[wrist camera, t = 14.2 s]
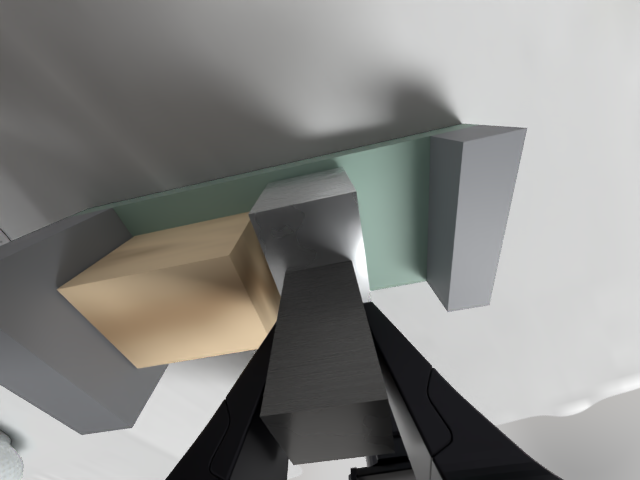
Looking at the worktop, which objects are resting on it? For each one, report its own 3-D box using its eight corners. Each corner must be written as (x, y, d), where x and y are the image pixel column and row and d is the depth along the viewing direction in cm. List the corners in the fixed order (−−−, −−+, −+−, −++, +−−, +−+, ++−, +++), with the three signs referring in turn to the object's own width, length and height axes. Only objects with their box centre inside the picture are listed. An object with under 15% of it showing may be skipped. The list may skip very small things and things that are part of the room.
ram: (361, 290, 17) (416, 484, 8) (306, 299, 17) (299, 498, 8) (342, 166, 12) (414, 295, 4) (268, 182, 13) (168, 338, 4)
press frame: (450, 263, 18) (547, 369, 10) (168, 314, 20) (81, 434, 12) (462, 123, 13) (659, 137, 6) (88, 208, 15) (-134, 302, 8)
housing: (283, 285, 17) (273, 346, 12) (182, 303, 17) (137, 368, 13) (255, 210, 14) (228, 255, 9) (134, 236, 14) (56, 289, 10)
